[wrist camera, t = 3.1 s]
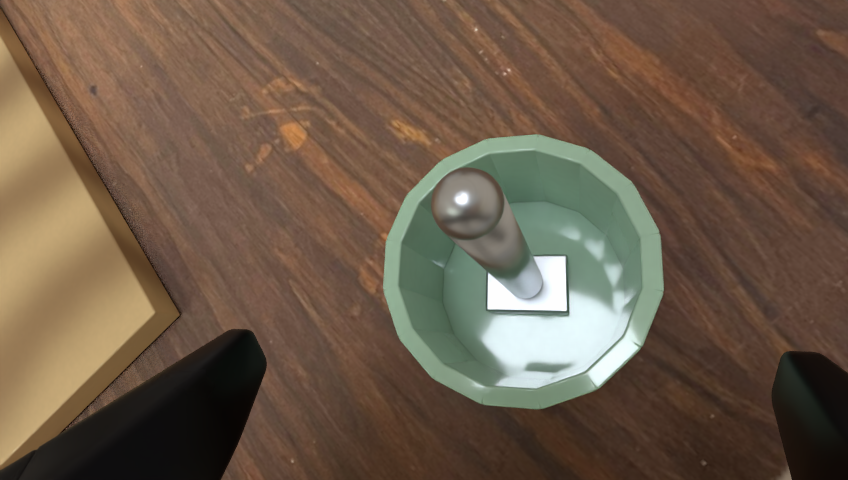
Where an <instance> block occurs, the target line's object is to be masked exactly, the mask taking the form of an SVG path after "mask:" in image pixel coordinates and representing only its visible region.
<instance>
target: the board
mask: <svg viewBox="0 0 848 480" xmlns="http://www.w3.org/2000/svg"><path fill="white" fill-rule="evenodd" d="M179 315H180V314H179V312H178V310H177V309H176V307H175V305H174V303H173V302H172V300H171V298H170V297H169V295H168V293H167V291H166V290H165V288H164V286H163V285H162V283H161V281H160V280H159V278H158V276H157V274H156V273H155V271H154V269H153V268H152V266H151V264H150V262H149V261H148V259H147V257H146V256H145V254H144V252H143V250H142V249H141V247H140V245H139V244H138V242H137V240H136V239H135V237H134V235H133V233H132V232H131V230H130V228H129V227H128V225H127V223H126V221H125V220H124V218H123V216H122V215H121V213H120V211H119V209H118V208H117V206H116V204H115V203H114V201H113V199H112V198H111V196H110V194H109V192H108V191H107V189H106V187H105V186H104V184H103V182H102V180H101V179H100V177H99V175H98V174H97V172H96V170H95V168H94V167H93V165H92V163H91V162H90V160H89V158H88V157H87V155H86V153H85V151H84V150H83V148H82V146H81V145H80V143H79V141H78V139H77V138H76V136H75V134H74V133H73V131H72V129H71V127H70V126H69V124H68V122H67V121H66V119H65V117H64V116H63V114H62V112H61V110H60V109H59V107H58V105H57V104H56V102H55V100H54V98H53V97H52V95H51V93H50V92H49V90H48V88H47V86H46V85H45V83H44V81H43V80H42V78H41V76H40V75H39V73H38V71H37V69H36V68H35V66H34V64H33V63H32V61H31V59H30V57H29V56H28V54H27V52H26V51H25V49H24V47H23V45H22V44H21V42H20V40H19V39H18V37H17V35H16V34H15V32H14V30H13V28H12V27H11V25H10V23H9V22H8V20H7V18H6V16H5V15H4V13H3V11H2V10H1V8H0V470H1V469H3V468H5V467H6V466H8V465H10V464H11V463H13V462H15V461H16V460H18V459H20V458H21V457H23V456H24V455H26V454H28V453H29V452H31V451H32V450H37V449H38V448H39V446H41V445H43V444H44V443H46V442H47V441H49V440H51V439H52V438H54V437H56V436H57V435H58V434H59V433H60V432H61V431H63V430H64V429H65V428H66V427H67V426H68V425H69V424H70V423H71V422H72V421H73V420H74V419H75V418H76V417H77V416H78V415H79V414H80V413H81V412H82V411H83V410H84V409H85V408H86V407H87V406H88V405H89V404H90V403H91V402H92V401H93V400H94V399H95V398H96V397H97V396H98V395H99V394H100V393H101V392H102V391H103V390H104V389H105V388H106V387H107V386H108V385H109V384H110V383H111V382H112V381H113V380H114V379H115V378H116V377H117V376H118V375H119V374H120V373H121V372H123V371H124V370H125V369H126V368H127V367H128V366H129V365H130V364H131V363H132V362H133V361H134V360H135V359H136V358H137V357H138V356H139V355H140V354H141V353H142V352H143V351H144V350H145V349H146V348H147V347H148V346H149V345H150V344H151V343H152V342H153V341H154V340H155V339H156V338H157V337H158V336H159V335H160V334H161V333H162V332H163V331H164V330H165V329H166V328H167V327H168V326H169V325H170V324H171V323H172V322H173V321H174V320H175V319H176V318H177V317H178V316H179Z"/></svg>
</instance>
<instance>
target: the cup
mask: <svg viewBox="0 0 848 480" xmlns="http://www.w3.org/2000/svg"><path fill="white" fill-rule="evenodd" d="M465 167H466V168H476V169H480V170H483V171H485V172H487V173H488V174H490V175H491V176H492V177H493V178H494V179H495V180H496V181H497V182H498V183H499V185H500V186H501V188H502V190H503V193H504V195H505V197H506V199H507V201H508V203H509V205H510V208H511V210H512V212H513V214H514V216H515V218H516V221H517V223H518V225H519V227H520V229H521V231H522V233H523V236H524V238H525V240H526V242H527V244H528V246H529V248H530V251H531V253H532V255H553V254H565V255H567V256H568V271H569V314H568V315H545V314H502V313H490V312H488V311H486V270H485V269H484V268H483V267H482V266H481V265H479V264H478V263H477V262H476V261H475V260H474V259H473V258H472V257H470V256H469V255H468V254H467V253H466V252H465V251H464V250H463V249H462V248H460V247H459V246H458V245H457V244H456V243H455V242H454V241H453V240H451V239H450V238H449V237H448V236H447V235H446V234H445V233H444V232H443V231H441V229H440V228H439V227H438V225H437V224H436V222H435V220H434V218H433V215H432V211H431V200H432V194H433V191H434V189H435V187H436V185H437V184H438V182H439V181H440V180H441V179H442V178H443V177H444V176H445V175H446V174H448V173H450V172H452V171H454V170H456V169H459V168H465ZM659 233H660V232H659V229H658V228H657V226H656V224H655V222H654V220H653V218H652V216H651V215H650V213H649V211H648V209H647V207H646V205H645V204H644V202H643V200H642V198H641V196H640V194H639V192H638V191H637V189H636V187H635V185H634V184H632V182H631V181H630V180H629V179H628V178H626V177H625V176H624V175H623V174H621V173H620V172H619V171H617V170H616V169H615V168H614V167H612V166H611V165H610V164H609V163H607V162H606V161H605V160H603V159H602V158H601V157H600V156H598V155H597V154H596V153H595V152H593V151H592V150H589V149H588V148H585V147H581V146H578V145H574V144H571V143H567V142H564V141H560V140H557V139H553V138H550V137H546V136H543V135H537V134H535V135H523V136H512V137H500V138H489V139H487V140H486V139H485V140H483V141H481V142H479V143H476V144H474V145H472V146H470V147H468V148H466V149H464V150H462V151H460V152H457V153H455V154H453V155H451V156H449V157H447V158H445V159H443V160H442V161H440V162H439V163H438V164H437V165H436V166H435V167H434V168H433V169H432V170H431V171H430V172H429V173H428V174H427V175H426V176H425V177H424V178H423V179H422V180H421V181H420V182H419V183H418V184H417V185H416V186H415V187H414V188H413V189H412V190H411V191H410V192H409V193H408V194H407V196H406V197H405V199H404V202H403V204H402V206H401V208H400V210H399V213H398V215H397V217H396V219H395V222H394V224H393V226H392V228H391V230H390V233H389V235H388V237H387V241H386V250H385V266H384V282H383V289H384V294H385V297H386V301H387V304H388V307H389V310H390V313H391V316H392V319H393V322H394V325H395V329H396V332H397V335H398V337H399V339H400V341H401V342H402V343H403V344H404V345H405V347H406V348H407V349H408V350H409V351H410V353H411V354H412V355H413V356H414V357H415V359H416V360H417V361H418V362H419V363H420V365H421V366H422V367H423V368H424V369H425V371H426V372H427V373H428V374H429V375H430V377H431V378H434V380H435V381H437V382H439V383H441V384H443V385H445V386H447V387H449V388H451V389H453V390H455V391H456V392H458V393H460V394H462V395H464V396H466V397H468V398H470V399H472V400H474V401H476V402H477V403H479V404H483V405H488V406H500V407H513V408H525V409H537V410H538V409H540V408H541V409H544V408H547V407H550V406H553V405H556V404H559V403H562V402H565V401H568V400H570V399H573V398H576V397H579V396H582V395H585V394H588V393H591V392H594V391H596V390H597V389H599V388H601V387H602V386H603V385H604V384H605V383H606V382H607V381H608V380H609V379H610V378H611V377H612V376H613V375H614V374H615V373H617V372H618V371H619V370H620V369H621V368H622V367H623V366H624V365H625V364H626V363H627V362H628V361H629V360H630V359H631V358H632V357H633V356H635V355H636V354H637V353H638V352H639V351H640V350H641V347H642V346H643V345H644V342H645V340H646V337H647V335H648V332H649V330H650V327H651V325H652V322H653V320H654V317H655V315H656V312H657V309H658V307H659V304H660V302H661V299H662V297H663V291H664V278H663V262H662V247H661V235H660V234H659Z"/></svg>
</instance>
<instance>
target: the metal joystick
mask: <svg viewBox="0 0 848 480" xmlns="http://www.w3.org/2000/svg"><path fill="white" fill-rule="evenodd" d="M431 211H432V215H433V218H434V220H435V222H436V224H437V225H438V227H439V228H440V229H441V231H443V232H444V233H445V234H446V235H447V236H448V237H449V238H450V239H451V240H453V241H454V242H455V243H456V244H457V245H458V246H459V247H460V248H462V249H463V250H464V251H465V252H466V253H467V254H468V255H469V256H470V257H472V258H473V259H474V260H475V261H476V262H477V263H478V264H479V265H481V266H482V267H483V268H484V269H485V270H486V311H488V312H490V313H502V314H545V315H568V314H569V271H568V256H567V255H565V254H553V255H532V253H531V251H530V248H529V246H528V244H527V242H526V240H525V238H524V236H523V233H522V231H521V229H520V227H519V225H518V223H517V221H516V218H515V216H514V214H513V212H512V210H511V208H510V205H509V203H508V201H507V199H506V197H505V195H504V193H503V190H502V188H501V186H500V185H499V183H498V182H497V181H496V180H495V179H494V178H493V177H492V176H491V175H490V174H488V173H487V172H485V171H483V170H480V169H476V168H466V167H465V168H459V169H456V170H454V171H452V172H450V173H448V174H446V175H445V176H444V177H443V178H442V179H441V180H440V181H439V182H438V184H437V185H436V187H435V189H434V191H433V194H432V200H431Z"/></svg>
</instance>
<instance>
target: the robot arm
mask: <svg viewBox="0 0 848 480" xmlns="http://www.w3.org/2000/svg"><path fill="white" fill-rule="evenodd" d="M266 366H267V362H266V358H265V355H264V353H263V351H262V349H261V347H260V345H259V343H258V341H257V339H256V337H255V335H254V333H253V332H252V331H250V330H247V329H231V330H229V331H227V332H225V333H223V334H222V335H220V336H219V337H217V338H215V339H214V340H212V341H210V342H209V343H207V344H206V345H204V346H202V347H201V348H199V349H197V350H196V351H194V352H193V353H191V354H189V355H188V356H186V357H184V358H183V359H181V360H179V361H178V362H176V363H175V364H173V365H171V366H170V367H168V368H166V369H165V370H163V371H162V372H160V373H158V374H157V375H155V376H153V377H152V378H150V379H148V380H147V381H145V382H144V383H142V384H140V385H139V386H137V387H135V388H134V389H132V390H131V391H129V392H127V393H126V394H124V395H122V396H121V397H119V398H118V399H116V400H114V401H113V402H111V403H109V404H108V405H106V406H104V407H103V408H101V409H100V410H98V411H96V412H95V413H93V414H91V415H90V416H88V417H87V418H85V419H83V420H82V421H80V422H78V423H77V424H75V425H73V426H72V427H70V428H69V429H67V430H65V431H64V432H62V433H60V434H59V435H57V436H56V437H54V438H52V439H51V440H49V441H47V442H46V443H44V444H43V445H41V446H39V448H38V449H37V450H32V451H31V452H29V453H28V454H26V455H24V456H23V457H21V458H20V459H18V460H16V461H15V462H13V463H11V464H10V465H8V466H6V467H5V468H3V469H1V470H0V480H221V478H222V476H223V474H224V472H225V470H226V468H227V466H228V464H229V462H230V460H231V458H232V455H233V453H234V451H235V449H236V447H237V445H238V442H239V440H240V438H241V435H242V433H243V430H244V427H245V425H246V422H247V419H248V417H249V414H250V411H251V409H252V406H253V403H254V401H255V398H256V395H257V393H258V390H259V387H260V385H261V382H262V379H263V377H264V374H265V371H266ZM772 404H773V409H774V412H775V416H776V420H777V424H778V428H779V432H780V435H781V439H782V443H783V447H784V451H785V455H786V458H787V462H788V466H789V470H790V474H791V478H792V480H848V373H847V372H846V371H844V370H843V369H842V368H840V367H839V366H838V365H836V364H835V363H833V362H832V361H831V360H829V359H828V358H827V357H825V356H824V355H822V354H820V353H816V352H800V351H788V352H785V353H784V354H783V355H782V357H781V359H780V363H779V366H778V370H777V373H776V377H775V381H774V384H773V388H772Z"/></svg>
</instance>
